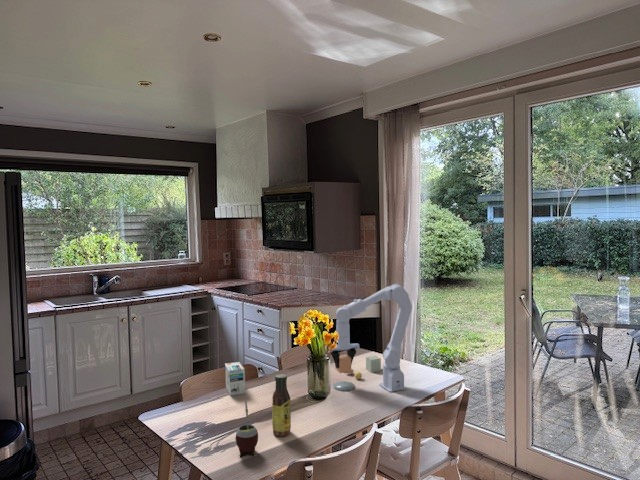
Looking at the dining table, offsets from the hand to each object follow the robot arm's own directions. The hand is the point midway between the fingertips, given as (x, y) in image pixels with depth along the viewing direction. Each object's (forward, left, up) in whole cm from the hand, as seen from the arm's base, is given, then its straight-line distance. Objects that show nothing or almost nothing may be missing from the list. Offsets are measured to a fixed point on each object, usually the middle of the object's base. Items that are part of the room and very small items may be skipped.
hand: (343, 366), depth 201 cm
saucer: (0, 0, -9) cm, 9 cm away
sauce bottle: (-30, +37, -9) cm, 48 cm away
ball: (+6, -10, -9) cm, 15 cm away
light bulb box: (+15, +44, -9) cm, 47 cm away
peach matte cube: (0, 0, -2) cm, 2 cm away
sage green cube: (+14, -22, -9) cm, 28 cm away
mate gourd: (-38, +51, -9) cm, 64 cm away
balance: (+18, -9, -9) cm, 22 cm away
